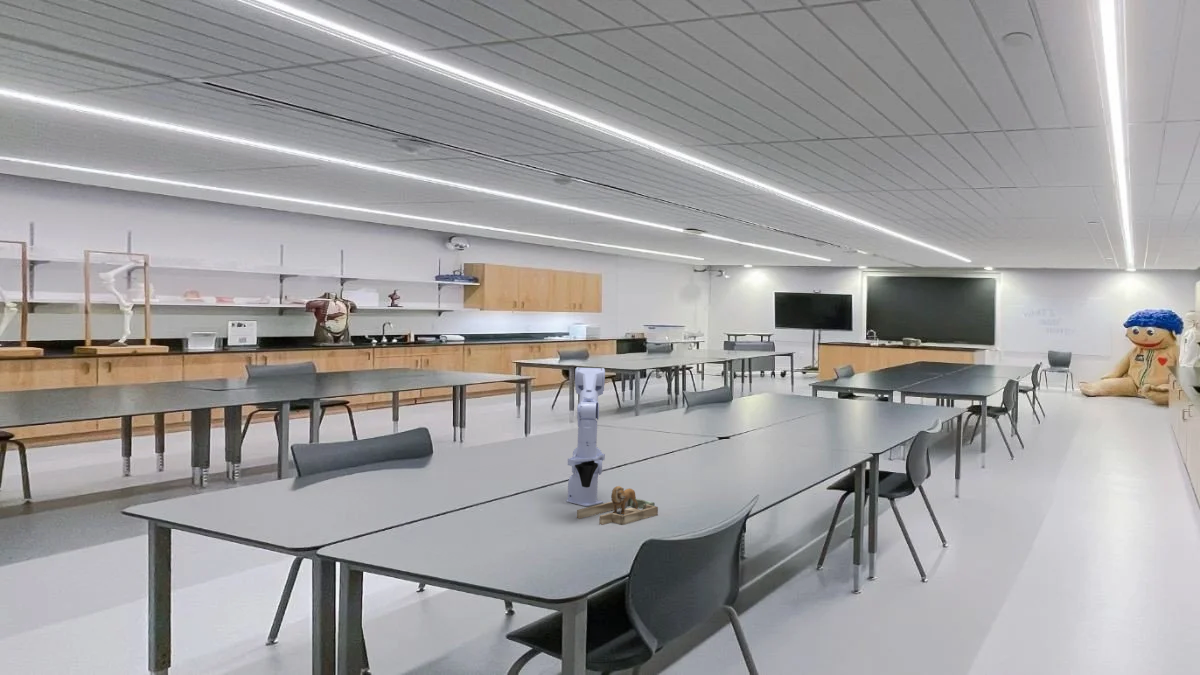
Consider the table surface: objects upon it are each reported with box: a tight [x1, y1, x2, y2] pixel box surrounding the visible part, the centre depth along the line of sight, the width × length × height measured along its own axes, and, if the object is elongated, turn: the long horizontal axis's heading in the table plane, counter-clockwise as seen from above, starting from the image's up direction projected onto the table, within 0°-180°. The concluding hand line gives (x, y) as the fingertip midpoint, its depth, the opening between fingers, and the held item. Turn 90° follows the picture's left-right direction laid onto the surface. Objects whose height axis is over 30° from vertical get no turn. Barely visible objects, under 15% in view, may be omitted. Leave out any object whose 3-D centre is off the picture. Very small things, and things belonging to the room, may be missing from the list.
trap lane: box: [576, 498, 659, 526], centre depth 239 cm, size 14×25×3 cm, turn 138°
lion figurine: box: [610, 485, 639, 515], centre depth 244 cm, size 15×5×9 cm, turn 156°
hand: (585, 486), depth 235 cm, fingers closed
